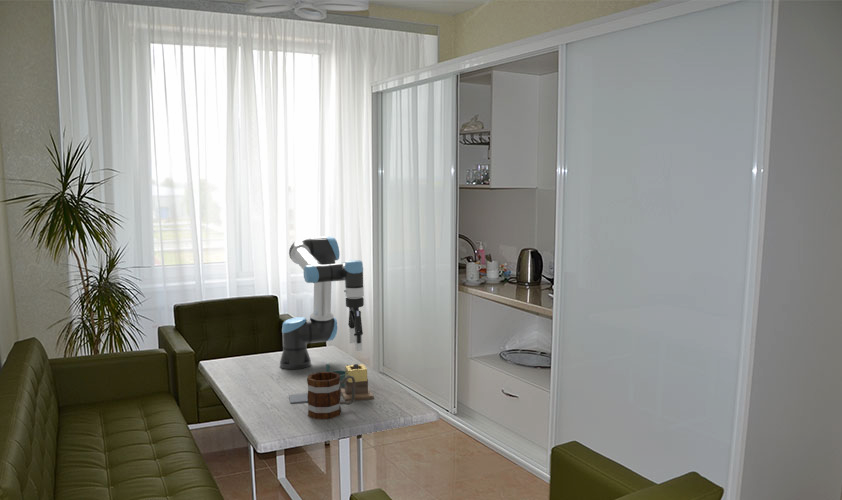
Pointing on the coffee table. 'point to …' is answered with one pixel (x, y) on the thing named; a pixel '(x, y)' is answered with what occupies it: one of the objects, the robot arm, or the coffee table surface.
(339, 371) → the bracket
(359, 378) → the hollow wooden square frame
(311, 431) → the coffee table surface
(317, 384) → the mug
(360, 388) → the post stand
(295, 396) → the felt mat
